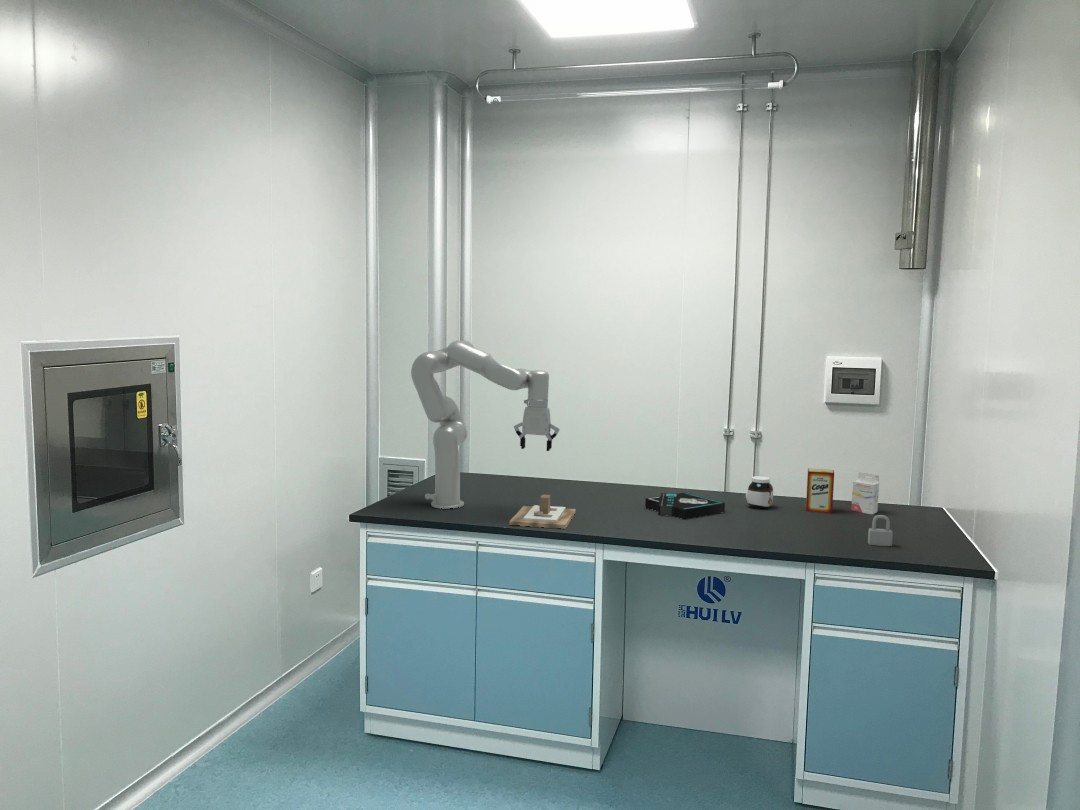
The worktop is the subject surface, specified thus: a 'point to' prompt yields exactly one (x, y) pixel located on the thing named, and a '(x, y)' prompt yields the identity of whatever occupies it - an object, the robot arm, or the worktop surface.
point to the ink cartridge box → (865, 493)
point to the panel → (545, 517)
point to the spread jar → (760, 492)
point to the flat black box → (684, 505)
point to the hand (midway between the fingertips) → (535, 449)
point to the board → (524, 510)
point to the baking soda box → (820, 490)
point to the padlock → (880, 533)
